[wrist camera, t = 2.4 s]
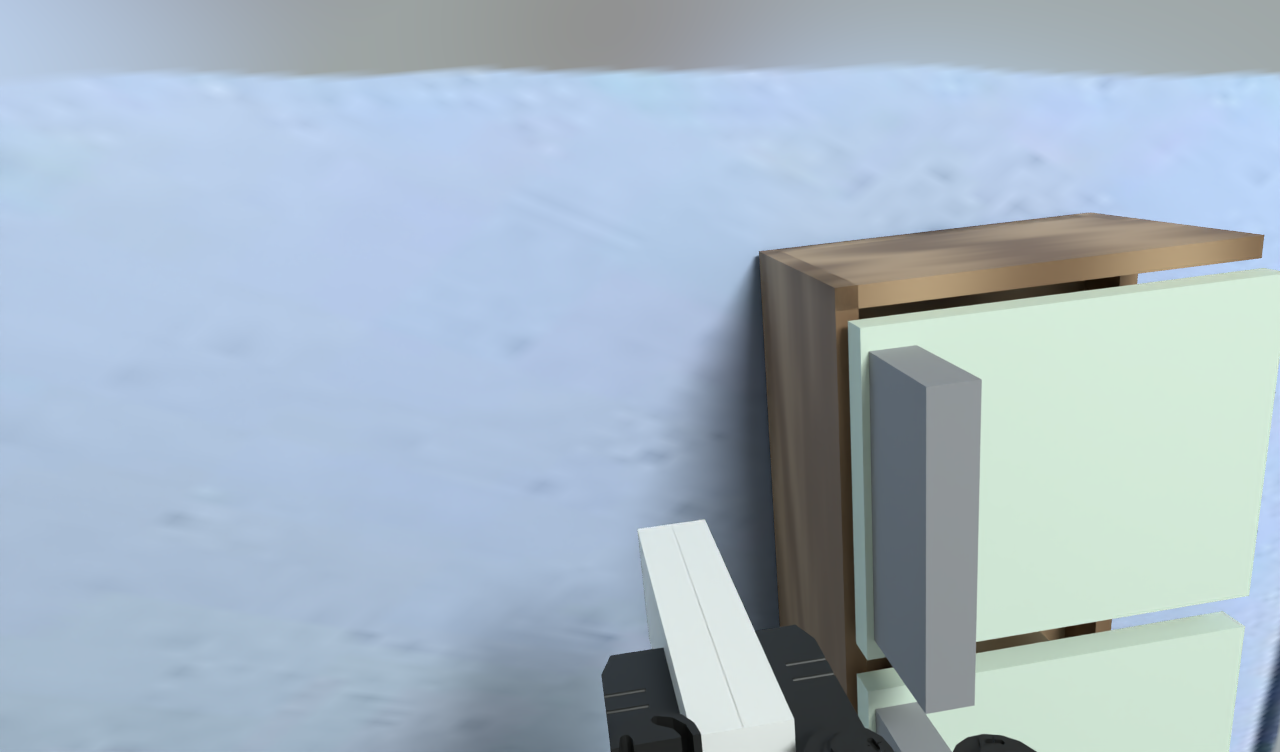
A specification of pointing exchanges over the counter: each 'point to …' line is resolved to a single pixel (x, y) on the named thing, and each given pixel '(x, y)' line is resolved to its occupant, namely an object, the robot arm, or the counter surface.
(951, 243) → the box
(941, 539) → the lid
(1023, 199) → the counter surface
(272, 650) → the counter surface
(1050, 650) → the lid
